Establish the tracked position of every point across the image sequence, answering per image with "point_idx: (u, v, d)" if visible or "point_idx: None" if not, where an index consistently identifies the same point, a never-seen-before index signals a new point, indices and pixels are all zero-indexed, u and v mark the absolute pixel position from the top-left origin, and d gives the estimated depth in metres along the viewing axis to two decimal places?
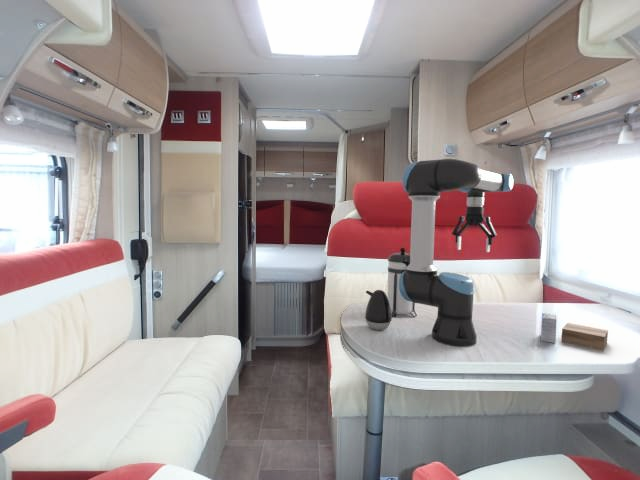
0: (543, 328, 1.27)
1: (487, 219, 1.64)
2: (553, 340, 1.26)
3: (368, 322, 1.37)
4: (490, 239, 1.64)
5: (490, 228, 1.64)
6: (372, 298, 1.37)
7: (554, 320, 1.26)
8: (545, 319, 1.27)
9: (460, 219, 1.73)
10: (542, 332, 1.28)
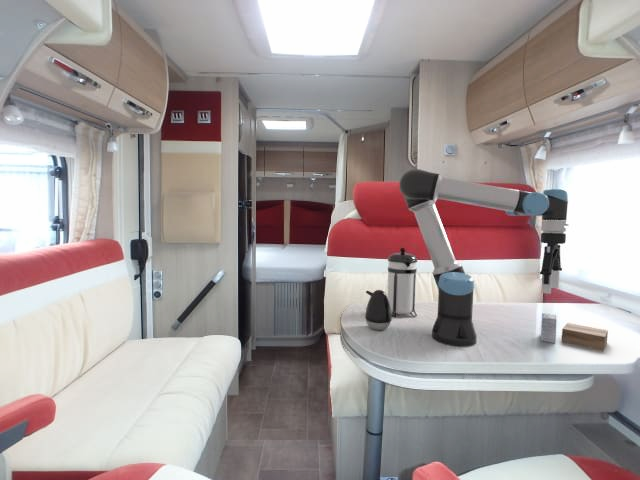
0: (543, 328, 1.27)
1: None
2: (553, 340, 1.26)
3: (368, 322, 1.37)
4: (544, 276, 1.24)
5: None
6: (372, 298, 1.37)
7: (554, 320, 1.26)
8: (545, 319, 1.27)
9: None
10: (542, 332, 1.28)
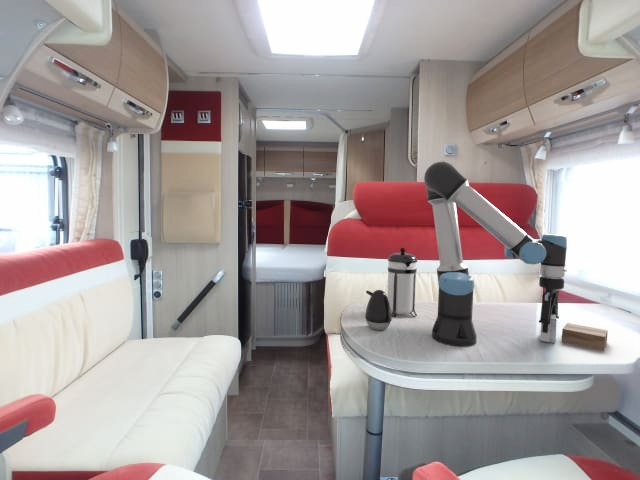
0: None
1: None
2: (553, 340, 1.26)
3: (368, 322, 1.37)
4: (543, 325, 1.26)
5: None
6: (372, 298, 1.37)
7: (554, 320, 1.26)
8: (545, 319, 1.27)
9: None
10: None
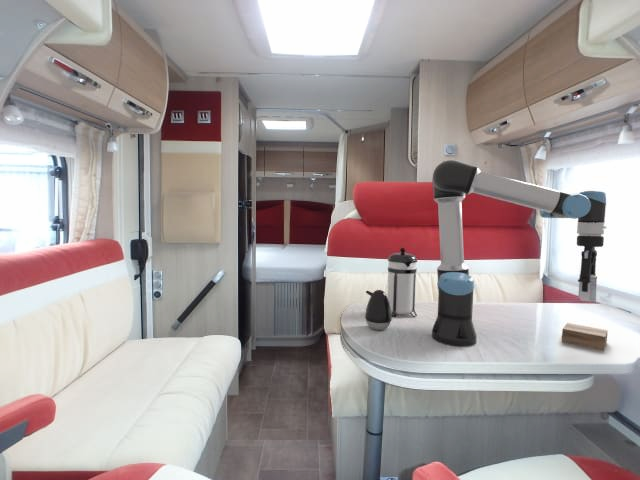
0: None
1: None
2: (594, 299, 1.22)
3: (368, 322, 1.37)
4: None
5: None
6: (372, 298, 1.37)
7: (594, 278, 1.22)
8: None
9: None
10: None
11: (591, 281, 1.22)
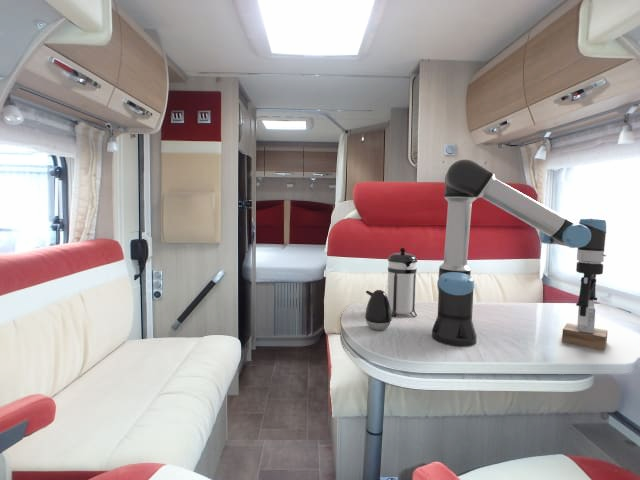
0: None
1: (581, 280, 1.22)
2: (592, 331, 1.23)
3: (368, 322, 1.37)
4: (580, 308, 1.21)
5: None
6: (372, 298, 1.37)
7: (593, 310, 1.22)
8: None
9: None
10: None
11: (589, 312, 1.23)
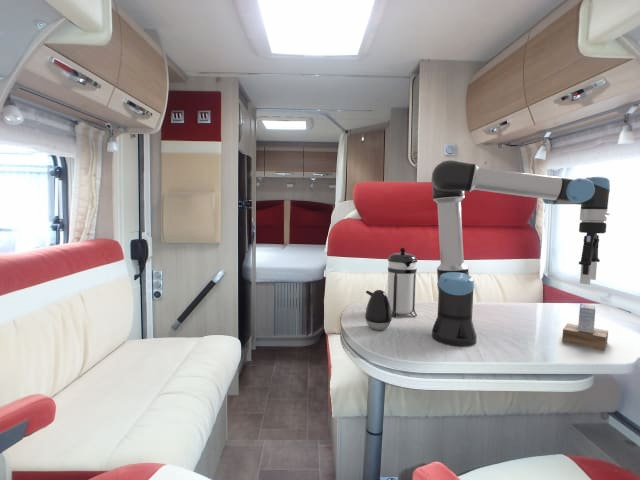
0: (581, 318, 1.25)
1: (584, 239, 1.21)
2: (591, 331, 1.23)
3: (368, 322, 1.37)
4: None
5: None
6: (372, 298, 1.37)
7: (593, 310, 1.23)
8: (583, 309, 1.24)
9: None
10: (579, 322, 1.25)
11: (589, 312, 1.23)
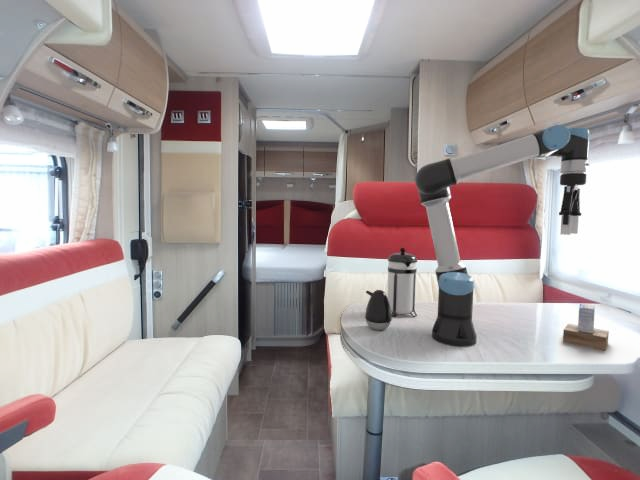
0: (580, 318, 1.25)
1: None
2: (591, 331, 1.23)
3: (368, 322, 1.37)
4: None
5: None
6: (372, 298, 1.37)
7: (592, 310, 1.23)
8: (583, 309, 1.24)
9: None
10: (579, 322, 1.25)
11: (589, 312, 1.23)
